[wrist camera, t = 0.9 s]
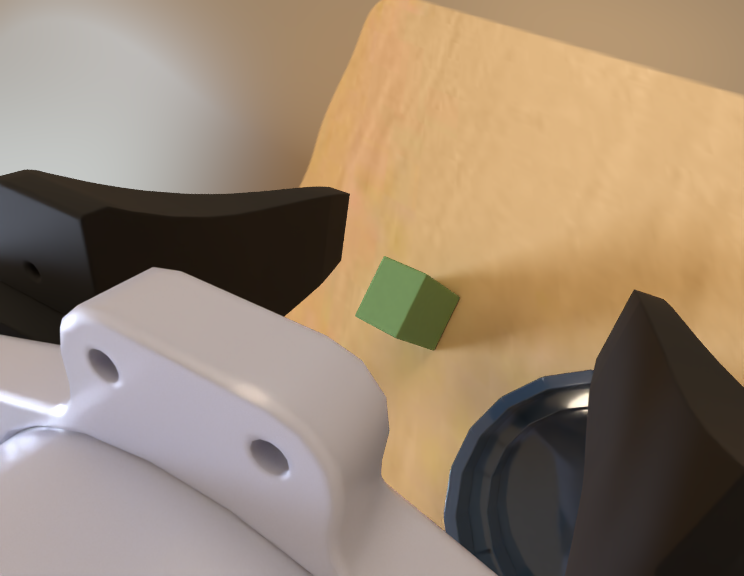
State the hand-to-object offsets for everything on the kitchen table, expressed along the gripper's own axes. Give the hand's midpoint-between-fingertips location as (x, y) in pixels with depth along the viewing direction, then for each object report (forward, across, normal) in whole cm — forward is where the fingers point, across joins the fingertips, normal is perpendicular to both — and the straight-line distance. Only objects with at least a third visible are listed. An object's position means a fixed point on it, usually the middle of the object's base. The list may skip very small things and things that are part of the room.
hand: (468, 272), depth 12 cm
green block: (+13, +4, +11) cm, 18 cm away
